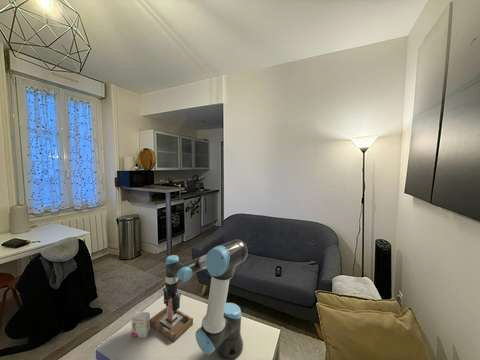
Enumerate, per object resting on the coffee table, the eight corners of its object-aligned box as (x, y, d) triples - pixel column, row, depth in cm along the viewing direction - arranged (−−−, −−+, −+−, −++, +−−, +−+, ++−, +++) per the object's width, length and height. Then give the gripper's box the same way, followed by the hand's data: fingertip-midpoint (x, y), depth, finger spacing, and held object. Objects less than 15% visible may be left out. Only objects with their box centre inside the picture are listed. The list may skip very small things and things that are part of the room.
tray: (192, 324, 125) (192, 318, 124) (174, 342, 112) (174, 335, 111) (169, 310, 136) (169, 305, 135) (149, 325, 123) (149, 319, 122)
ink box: (131, 336, 114) (131, 317, 113) (135, 329, 119) (135, 311, 118) (145, 338, 114) (145, 318, 113) (149, 330, 119) (150, 312, 118)
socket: (183, 321, 125) (183, 317, 125) (170, 332, 117) (170, 328, 117) (172, 315, 130) (172, 310, 130) (159, 325, 122) (159, 320, 122)
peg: (176, 320, 124) (176, 299, 123) (170, 324, 121) (171, 302, 120) (171, 317, 126) (171, 296, 125) (166, 321, 123) (166, 300, 122)
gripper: (186, 282, 121) (185, 318, 122) (167, 274, 129) (167, 307, 131) (176, 288, 114) (176, 326, 116) (157, 279, 123) (157, 315, 124)
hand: (171, 316), depth 123 cm, fingers closed on peg, 4 cm apart
